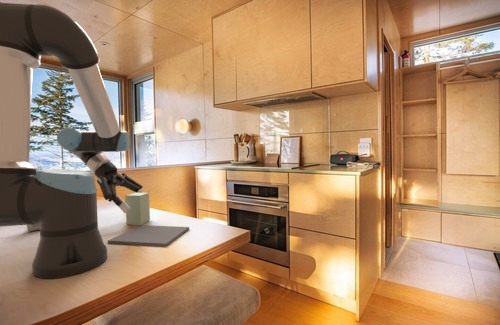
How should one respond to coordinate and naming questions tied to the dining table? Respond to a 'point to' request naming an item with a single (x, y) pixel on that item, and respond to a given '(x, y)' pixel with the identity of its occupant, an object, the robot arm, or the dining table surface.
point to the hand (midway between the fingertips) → (138, 206)
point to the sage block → (137, 208)
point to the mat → (149, 235)
